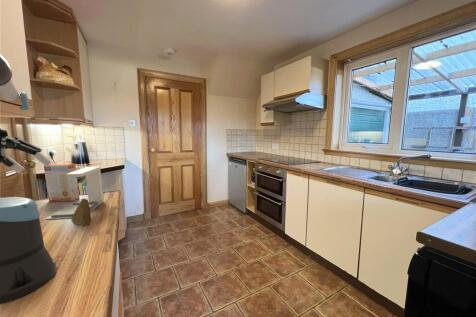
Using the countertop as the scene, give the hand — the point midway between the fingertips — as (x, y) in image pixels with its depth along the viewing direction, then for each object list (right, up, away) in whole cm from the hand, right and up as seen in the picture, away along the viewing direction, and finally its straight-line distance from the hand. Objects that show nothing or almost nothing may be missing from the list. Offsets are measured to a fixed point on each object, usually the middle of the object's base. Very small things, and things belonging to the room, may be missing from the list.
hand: (36, 167), depth 85 cm
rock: (+14, -25, +6) cm, 29 cm away
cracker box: (-17, -20, +33) cm, 42 cm away
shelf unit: (+2, -22, +19) cm, 30 cm away
